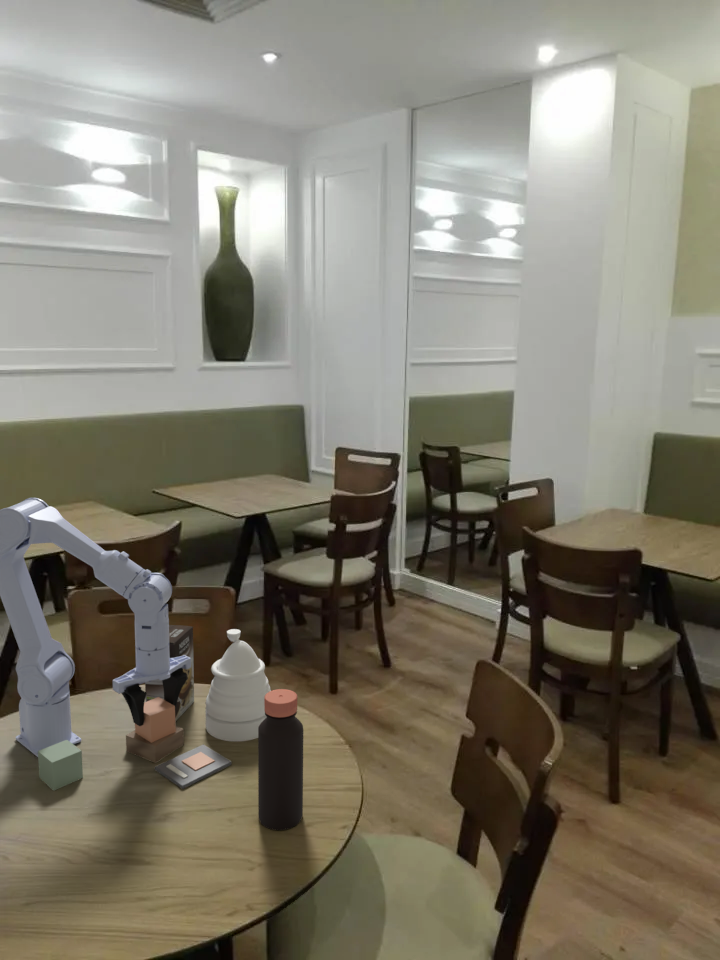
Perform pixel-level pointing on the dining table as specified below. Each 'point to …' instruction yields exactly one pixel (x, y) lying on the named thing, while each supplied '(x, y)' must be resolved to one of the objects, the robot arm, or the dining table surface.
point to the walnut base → (154, 745)
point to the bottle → (280, 762)
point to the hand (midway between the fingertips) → (154, 717)
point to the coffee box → (178, 647)
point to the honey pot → (236, 693)
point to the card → (192, 766)
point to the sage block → (60, 764)
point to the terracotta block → (157, 720)
